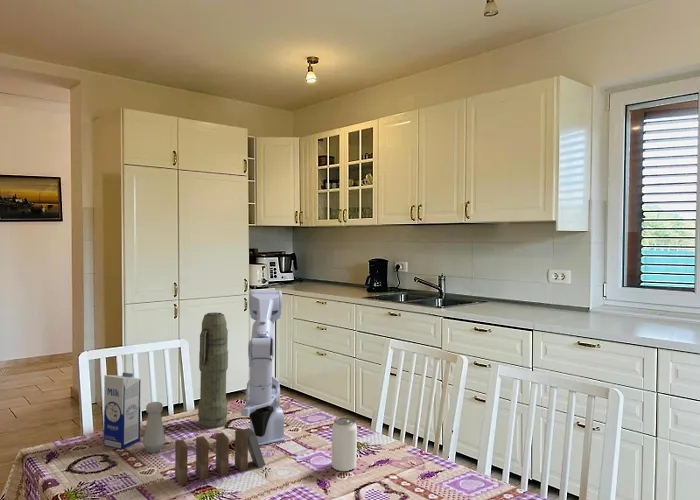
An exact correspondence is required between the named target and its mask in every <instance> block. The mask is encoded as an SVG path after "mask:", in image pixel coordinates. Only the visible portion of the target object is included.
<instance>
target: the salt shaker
mask: <svg viewBox="0 0 700 500" xmlns="http://www.w3.org/2000/svg"><path fill="white" fill-rule="evenodd" d="M163 409H164V406H163V403H162V402H160V401H152V402H149V403H147V404H146V408H145V411H146V413H147V419H146V424H145V429H144V430H145V431H144V433H143V434H144V435H143V439H142V446H143V448H144V449H145V451H146V453H149V454H150V453H151V454H154V453H158V452H161V451H162V449H163V447H164V445H165V443H166V438H165V437H166V436H165V432H164V424H163V420H162V419H163V418H162V414H161V413H162V411H163Z"/></svg>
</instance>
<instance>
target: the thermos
mask: <svg viewBox="0 0 700 500" xmlns="http://www.w3.org/2000/svg"><path fill="white" fill-rule="evenodd" d="M227 326H228V325H227V320H226V317H225V314H224V313H222V312H207V313H205V314H204V316H203V318H202V321H201V332H200V334H199V351H198V352H199V354H198V355H199V357H198V359H199V360H198V365H199V366H198V369H199V371H200V384H199V385H200V387H199V389H200V391H199V393H200V395H199V396H200V398H199V400H198V402H197V403H198V404H197V405H198V406H197V407H198V408H197V410H198V411H197V413H198V414H197V416H198V426H199V427H200V428H203V429H218V428H221V427H224V426H225V425H227V424H228V420H227V419H228V418H227V416H228V405H229V404H228V400H227V370H228V368H229V350H228V339H229V338H228V337H229V336H228V331H229V330H228V328H227Z"/></svg>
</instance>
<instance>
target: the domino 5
mask: <svg viewBox="0 0 700 500" xmlns="http://www.w3.org/2000/svg"><path fill="white" fill-rule="evenodd" d="M242 430H243V431H244V432H245V433H246V434H247V435H248V453H249V454H250V457H251V461H252V463H254V464H255V465H256V466H257V467H258V469H259V468H262V467H263V466H265V465H266V463H265V462H266V461H265V459H264V456H263V453H262V450H261V446H260V445H259V444H258V441H257V438H256V435H255V433H254V432H253V431H252V430H251V429H250V427H247V428H246V429H242Z"/></svg>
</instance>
